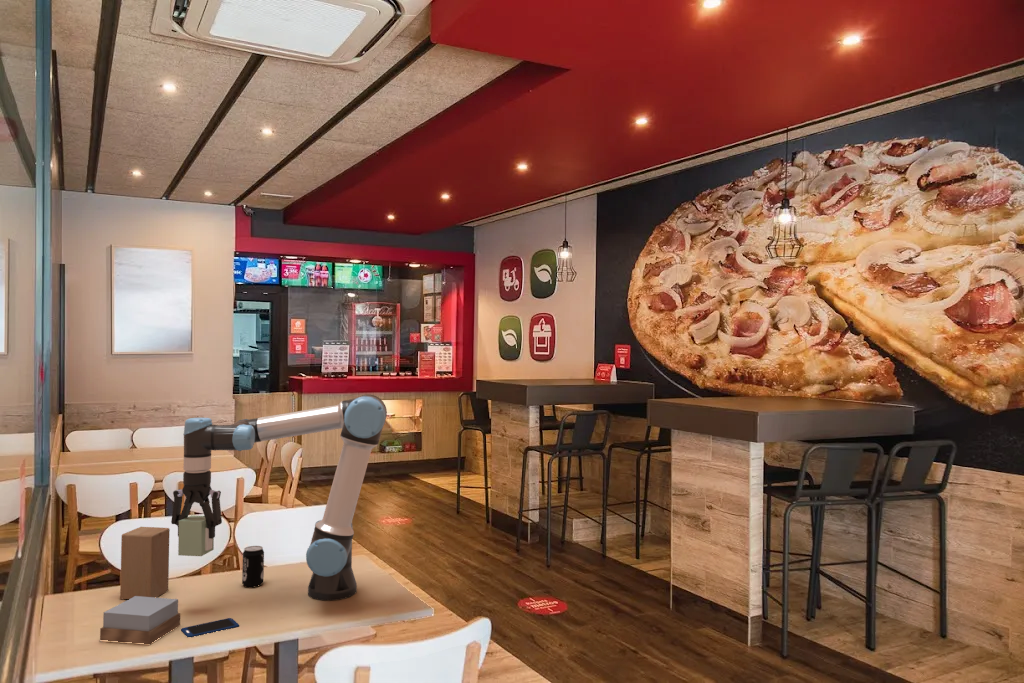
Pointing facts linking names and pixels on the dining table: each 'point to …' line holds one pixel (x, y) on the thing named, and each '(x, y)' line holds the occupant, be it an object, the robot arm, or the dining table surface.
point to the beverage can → (253, 566)
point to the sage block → (193, 536)
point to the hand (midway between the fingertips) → (196, 548)
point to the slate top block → (140, 613)
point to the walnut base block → (140, 632)
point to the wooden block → (144, 562)
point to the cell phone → (210, 627)
